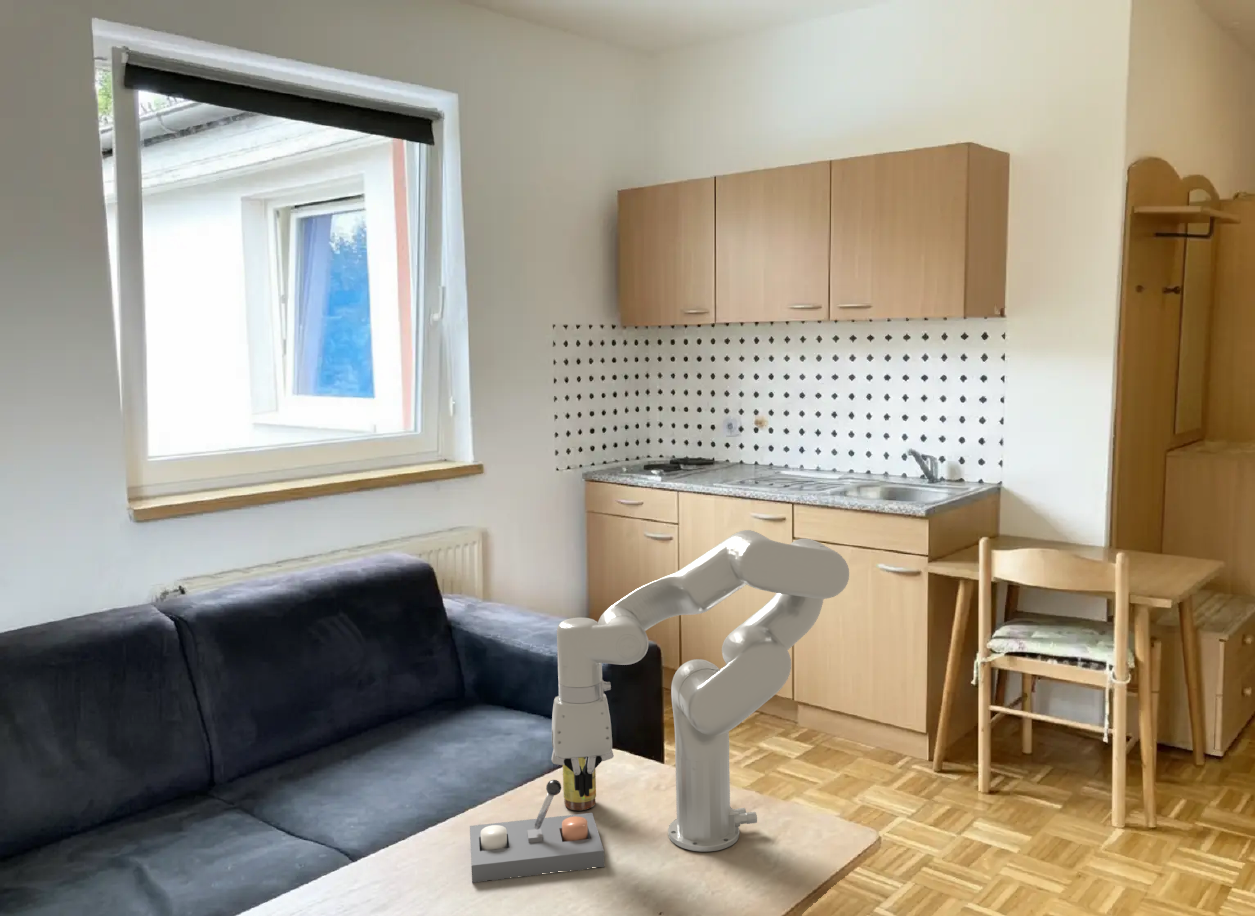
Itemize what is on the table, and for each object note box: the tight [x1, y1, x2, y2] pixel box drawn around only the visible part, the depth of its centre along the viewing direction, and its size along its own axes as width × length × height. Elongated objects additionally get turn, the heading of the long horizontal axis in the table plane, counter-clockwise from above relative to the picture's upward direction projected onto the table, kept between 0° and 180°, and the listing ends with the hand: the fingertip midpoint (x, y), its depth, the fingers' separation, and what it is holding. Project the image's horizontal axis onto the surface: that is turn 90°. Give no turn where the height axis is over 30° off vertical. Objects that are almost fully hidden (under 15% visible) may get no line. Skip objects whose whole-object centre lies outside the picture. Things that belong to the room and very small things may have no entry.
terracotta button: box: [562, 817, 588, 842], centre depth 175 cm, size 4×4×4 cm
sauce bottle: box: [562, 757, 597, 812], centre depth 191 cm, size 6×6×20 cm
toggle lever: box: [534, 779, 562, 830], centre depth 173 cm, size 3×3×9 cm
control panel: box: [469, 812, 605, 884], centre depth 174 cm, size 22×14×4 cm, turn 100°
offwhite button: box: [481, 825, 507, 851], centre depth 172 cm, size 4×4×4 cm
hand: (583, 793), depth 174 cm, fingers closed
